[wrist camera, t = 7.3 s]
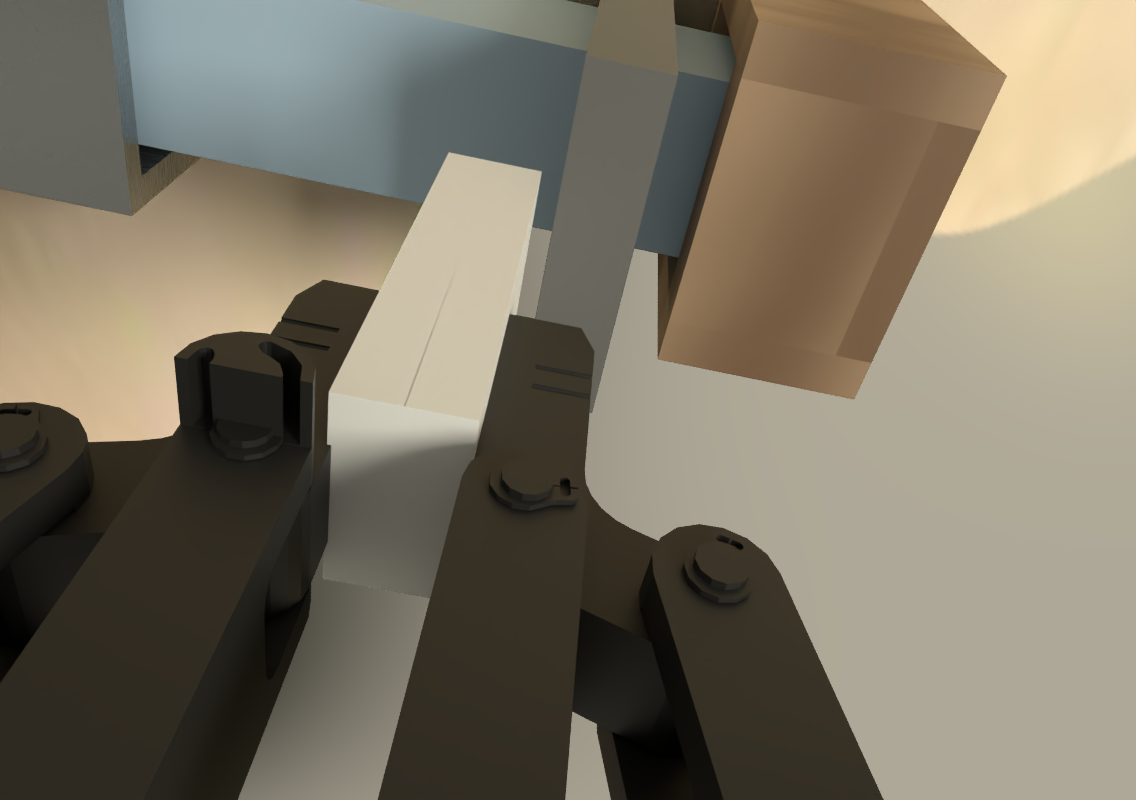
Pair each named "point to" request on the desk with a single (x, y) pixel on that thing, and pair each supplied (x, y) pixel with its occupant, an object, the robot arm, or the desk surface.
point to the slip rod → (454, 111)
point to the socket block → (820, 186)
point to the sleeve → (74, 108)
